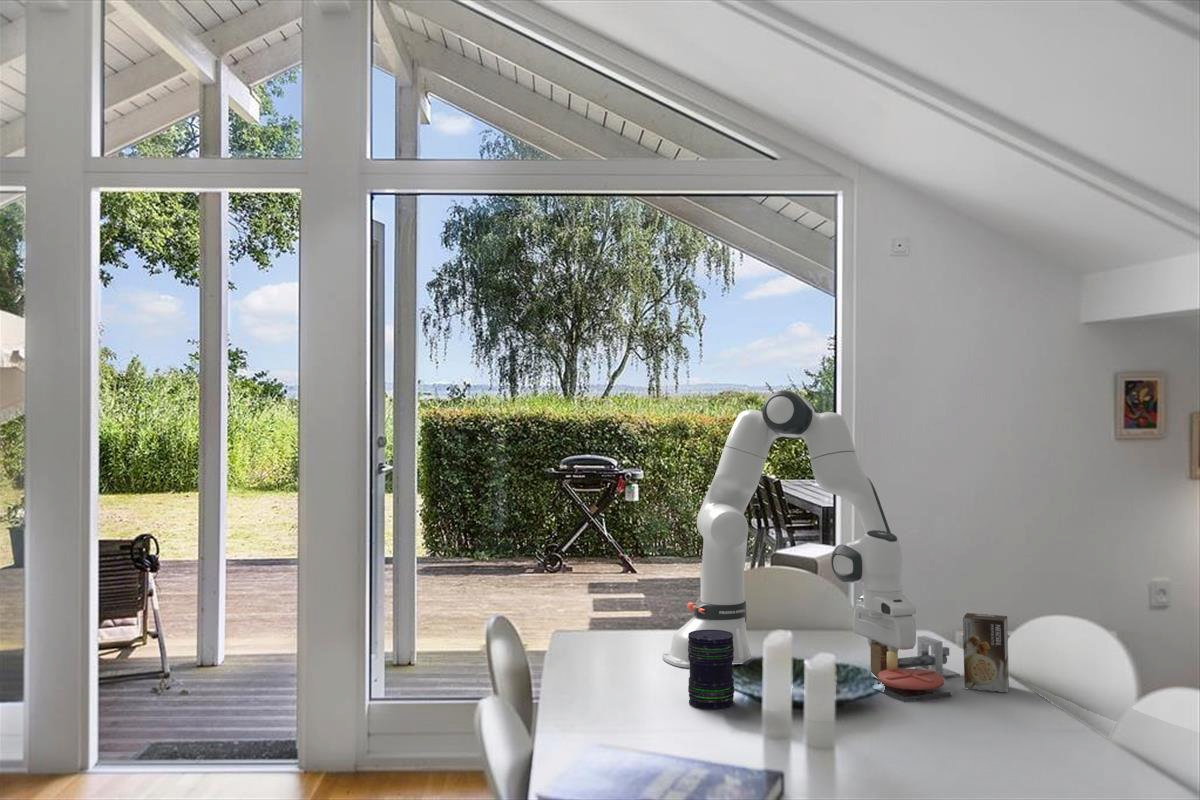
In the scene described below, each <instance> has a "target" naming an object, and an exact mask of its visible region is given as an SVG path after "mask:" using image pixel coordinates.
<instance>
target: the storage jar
mask: <svg viewBox="0 0 1200 800" xmlns="http://www.w3.org/2000/svg"><path fill="white" fill-rule="evenodd" d="M688 638H689V640H688V652H689V653H688V659H689V661H690V668H689V677H688V687H687V689H688V690H687V691H688V692H687V693H688V698H689V699H688V704H689V706H690V707H692V708H694V709H698V710H703V711H722V710H727V709H730V708H732V707H734V705H735V701H734V697H735V696H734V695H735V685H734V684H735V682H734V681H735V680H734V677H733V666H732V662H733V658H734V656H733V652H734V646H733V634H732V633H731V632H728V631H723V630H697V631H692V632H690V633H688Z"/></svg>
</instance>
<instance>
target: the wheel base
mask: <svg viewBox="0 0 1200 800" xmlns="http://www.w3.org/2000/svg"><path fill="white" fill-rule="evenodd" d="M884 686H885V690H884V692H883V694H885V695H887V696H890V697H892V698H894V699H897V700H899V701H901V702H903V701H904V702H903V703H906V701H908V702H915V700H916V701H923V700H924V699H925V700H931V698H933V699H940V697H941V698H947V697H951V696H952V694H951V693H952V692H951V691H950V690H948V689H944V688H943V687H939V688H935V689H927V690H911V689H901V688H895V687H890V686H887V685H884ZM925 700H924V701H925Z"/></svg>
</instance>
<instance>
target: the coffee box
mask: <svg viewBox="0 0 1200 800" xmlns="http://www.w3.org/2000/svg"><path fill="white" fill-rule="evenodd" d="M1008 626H1009V625H1008V616H1007V615H999V614H997V615H996V614H989V613H988V614H987V613H985V614H984V613H970V612H966V613H965V614H964V616H963V618H962V628H963V629H962V631H963V632H962V633H963V635H962V636H963V637H962V639H963V676H964V679H963V680H964V682H963V683H964V689H965V688H968V689H967V690H975V689H979V690H978V691H985V690H989V691H988V692H995V691H998V692H997V693H1004V692H1006V693H1007V692H1008V690H1009V689H1008V688H1010V678H1009V677H1010V676H1009V670H1010V669H1009V640H1008V639H1009V638H1008V637H1009V636H1008V635H1009V634H1008V633H1009V632H1008V629H1009V627H1008ZM999 691H1000V692H999Z"/></svg>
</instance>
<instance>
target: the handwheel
mask: <svg viewBox="0 0 1200 800" xmlns="http://www.w3.org/2000/svg"><path fill="white" fill-rule="evenodd" d="M898 652H899V651H898ZM898 652H894V651H888V652H887V670H883V671H881V672H879V673H878V679H877V680H879V681H880V682H882V684H884V685H887V686H890V687H895V688H901V689H911V690H927V689H935V688H939V687H940V688H942V687H943V686H944V685H945V678H944V677H943V676H942V675H940V674H938V673H935V671H932V670H929V671H927V670H921V669H915V668H898V658H899V656H898ZM879 681H878V682H879ZM880 682H879V683H880Z"/></svg>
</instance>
